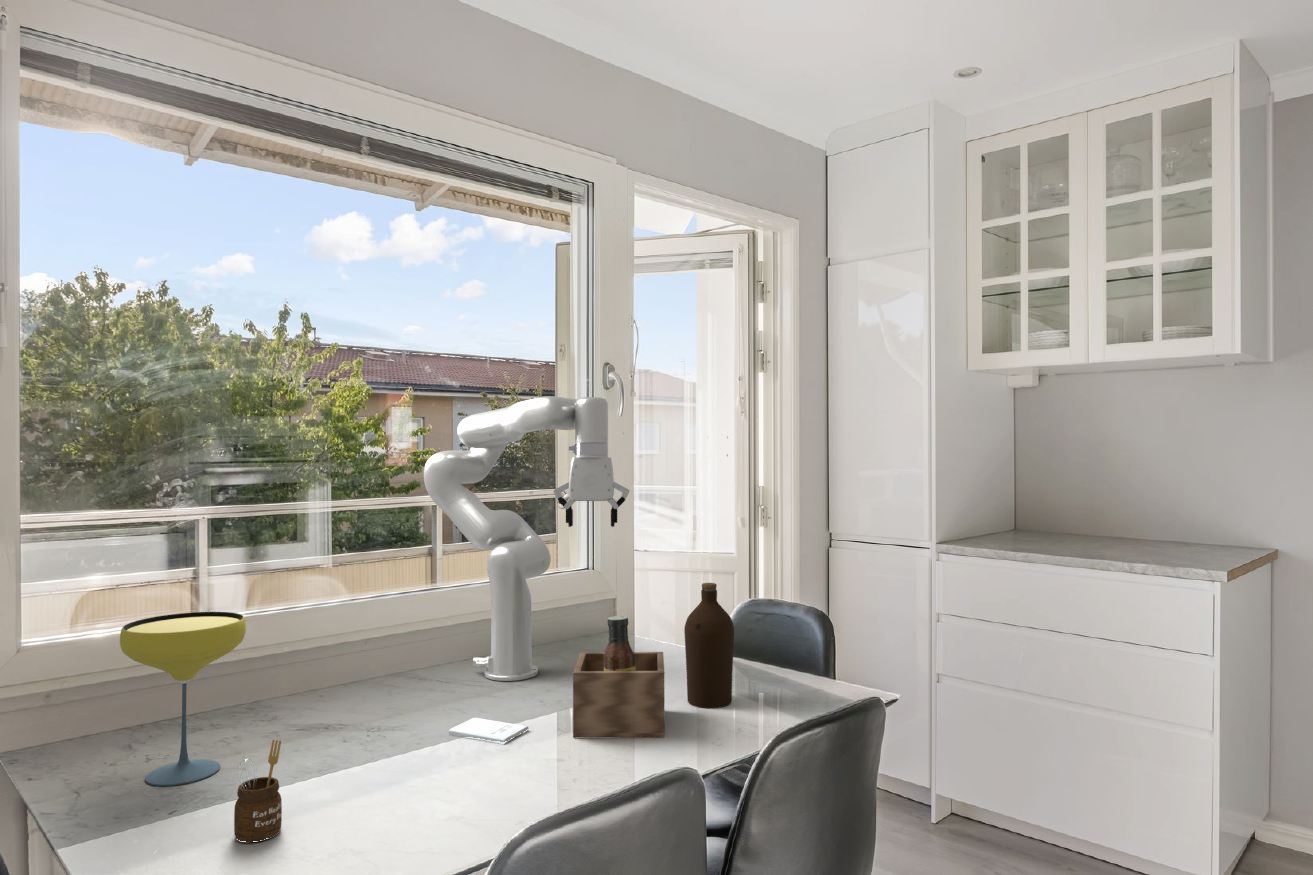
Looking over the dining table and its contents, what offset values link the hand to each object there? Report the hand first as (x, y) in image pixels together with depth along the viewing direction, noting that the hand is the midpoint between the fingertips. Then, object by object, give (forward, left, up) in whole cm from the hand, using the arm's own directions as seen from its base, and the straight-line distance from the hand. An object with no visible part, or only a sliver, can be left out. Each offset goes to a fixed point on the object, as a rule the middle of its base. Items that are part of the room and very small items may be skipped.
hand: (591, 526), depth 186 cm
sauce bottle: (+8, -26, -36) cm, 45 cm away
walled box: (+8, -26, -36) cm, 45 cm away
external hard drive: (-17, -31, -37) cm, 51 cm away
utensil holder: (-41, -72, -36) cm, 91 cm away
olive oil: (+26, -12, -36) cm, 46 cm away
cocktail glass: (-64, -50, -36) cm, 89 cm away
